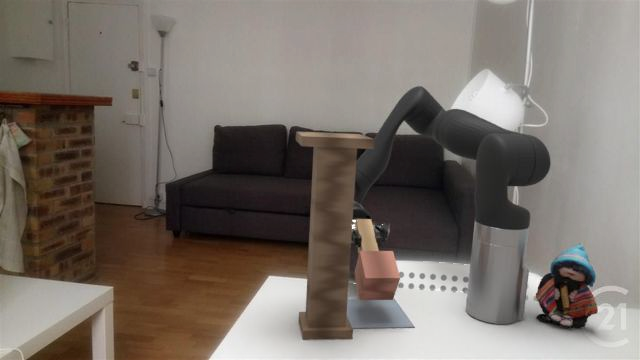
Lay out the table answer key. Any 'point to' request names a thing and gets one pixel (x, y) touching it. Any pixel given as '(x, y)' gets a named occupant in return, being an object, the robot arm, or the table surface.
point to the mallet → (374, 266)
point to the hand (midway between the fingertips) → (369, 242)
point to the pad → (376, 314)
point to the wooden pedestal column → (330, 232)
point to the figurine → (568, 290)
